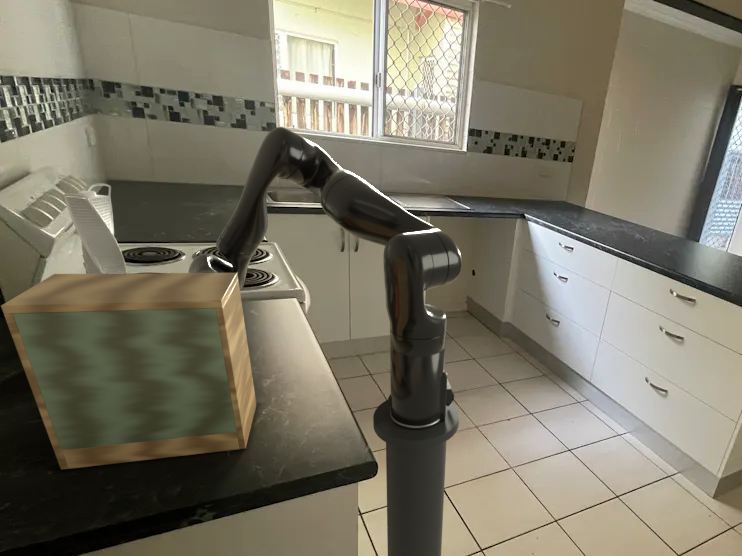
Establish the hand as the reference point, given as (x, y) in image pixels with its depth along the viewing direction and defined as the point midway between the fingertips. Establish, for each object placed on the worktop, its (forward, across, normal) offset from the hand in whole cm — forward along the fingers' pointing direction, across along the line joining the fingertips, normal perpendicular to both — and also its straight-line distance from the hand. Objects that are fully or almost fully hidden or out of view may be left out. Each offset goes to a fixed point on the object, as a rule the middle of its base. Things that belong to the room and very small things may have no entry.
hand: (174, 339), depth 74 cm
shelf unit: (+10, 0, +11) cm, 15 cm away
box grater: (-42, -23, +11) cm, 49 cm away
